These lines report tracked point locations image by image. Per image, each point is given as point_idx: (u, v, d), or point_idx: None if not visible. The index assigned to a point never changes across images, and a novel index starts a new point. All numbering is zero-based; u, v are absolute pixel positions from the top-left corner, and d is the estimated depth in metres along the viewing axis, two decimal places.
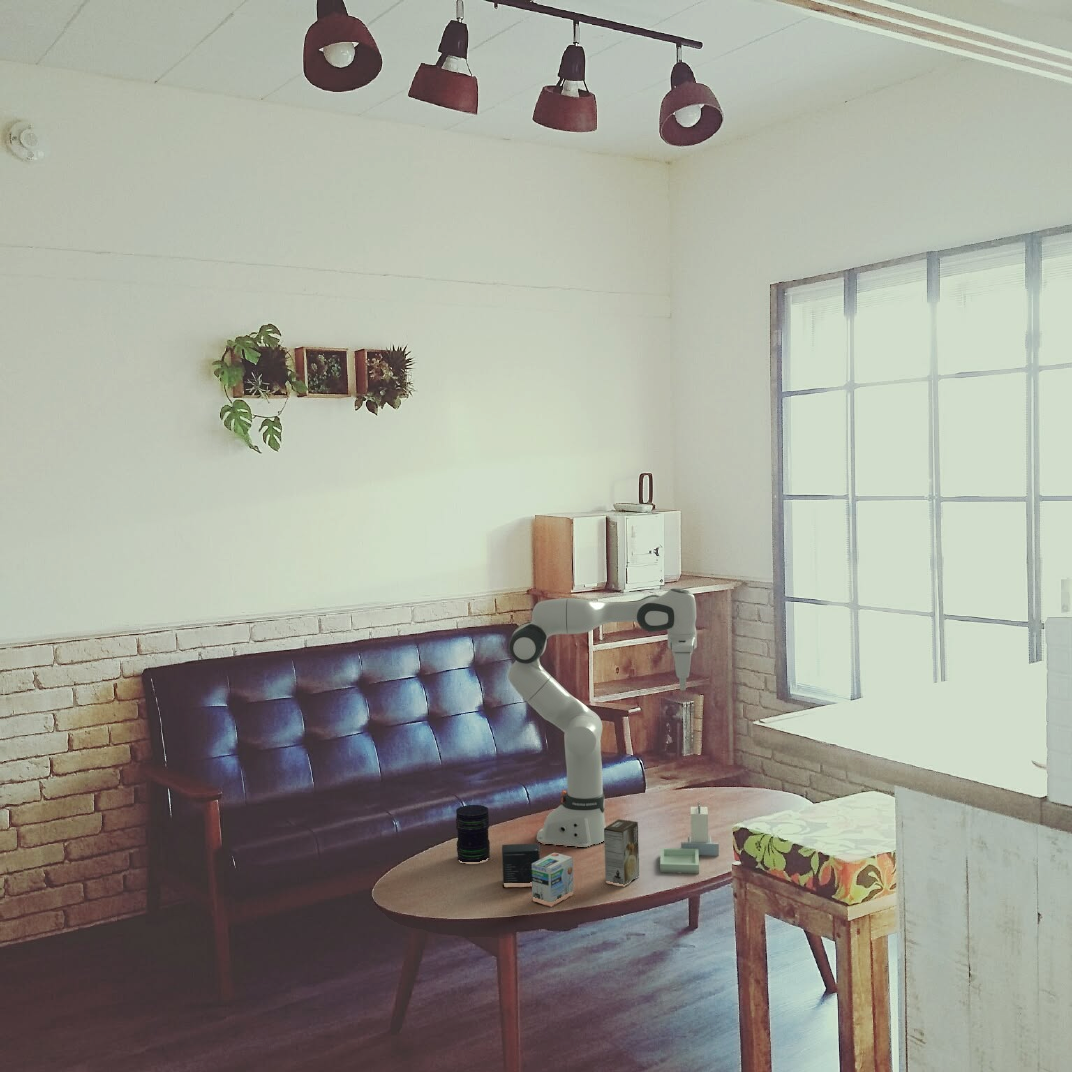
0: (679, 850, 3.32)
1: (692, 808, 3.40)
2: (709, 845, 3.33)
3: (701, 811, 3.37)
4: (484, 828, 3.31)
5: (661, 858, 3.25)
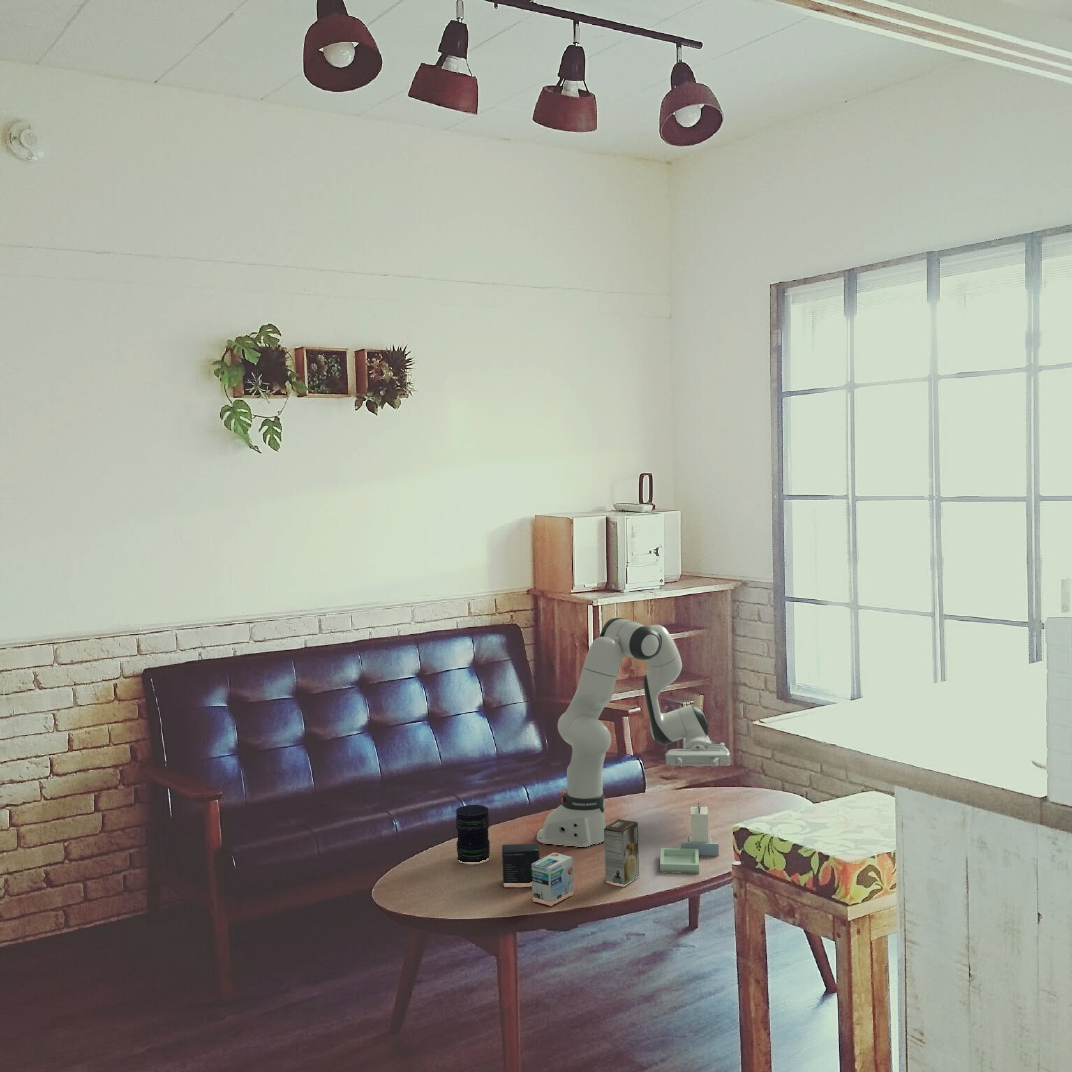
0: (679, 850, 3.32)
1: (692, 808, 3.40)
2: (709, 845, 3.33)
3: (701, 811, 3.37)
4: (484, 828, 3.31)
5: (661, 858, 3.25)
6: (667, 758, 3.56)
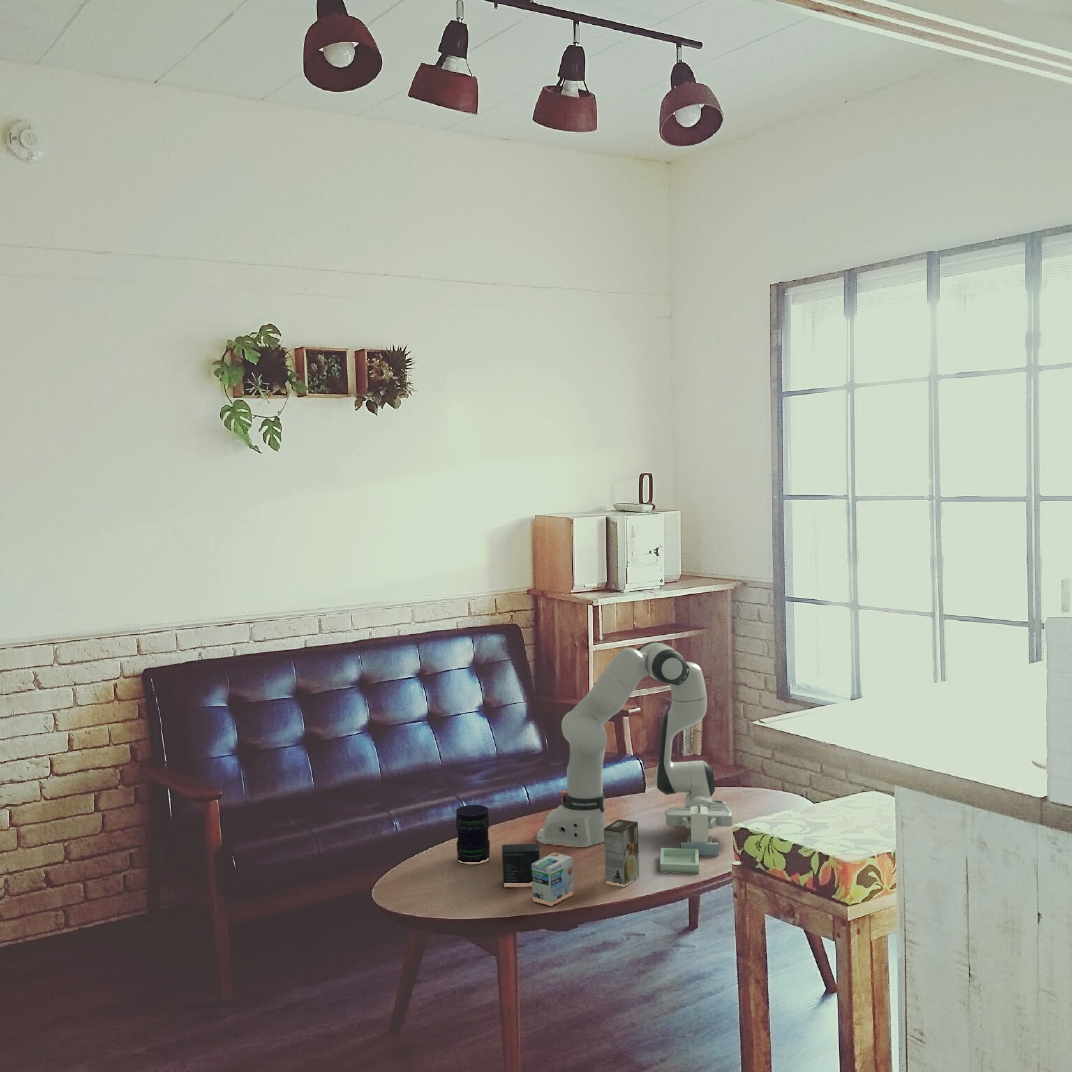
0: (679, 850, 3.32)
1: (692, 808, 3.40)
2: (709, 845, 3.33)
3: (701, 811, 3.37)
4: (484, 828, 3.31)
5: (661, 858, 3.25)
6: (667, 818, 3.43)
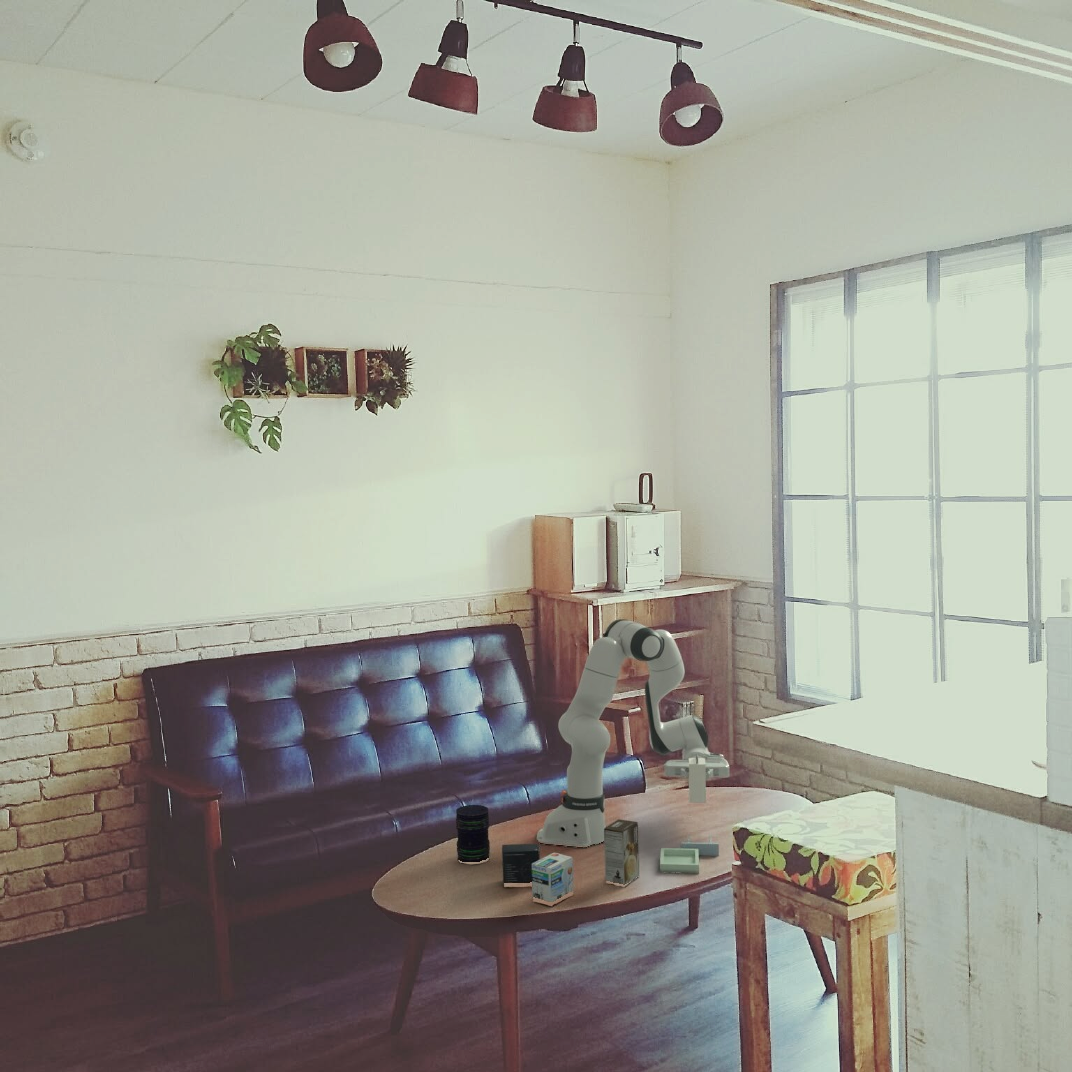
0: (679, 850, 3.32)
1: (690, 759, 3.49)
2: (709, 845, 3.33)
3: (699, 761, 3.46)
4: (484, 828, 3.31)
5: (661, 858, 3.25)
6: (666, 769, 3.52)
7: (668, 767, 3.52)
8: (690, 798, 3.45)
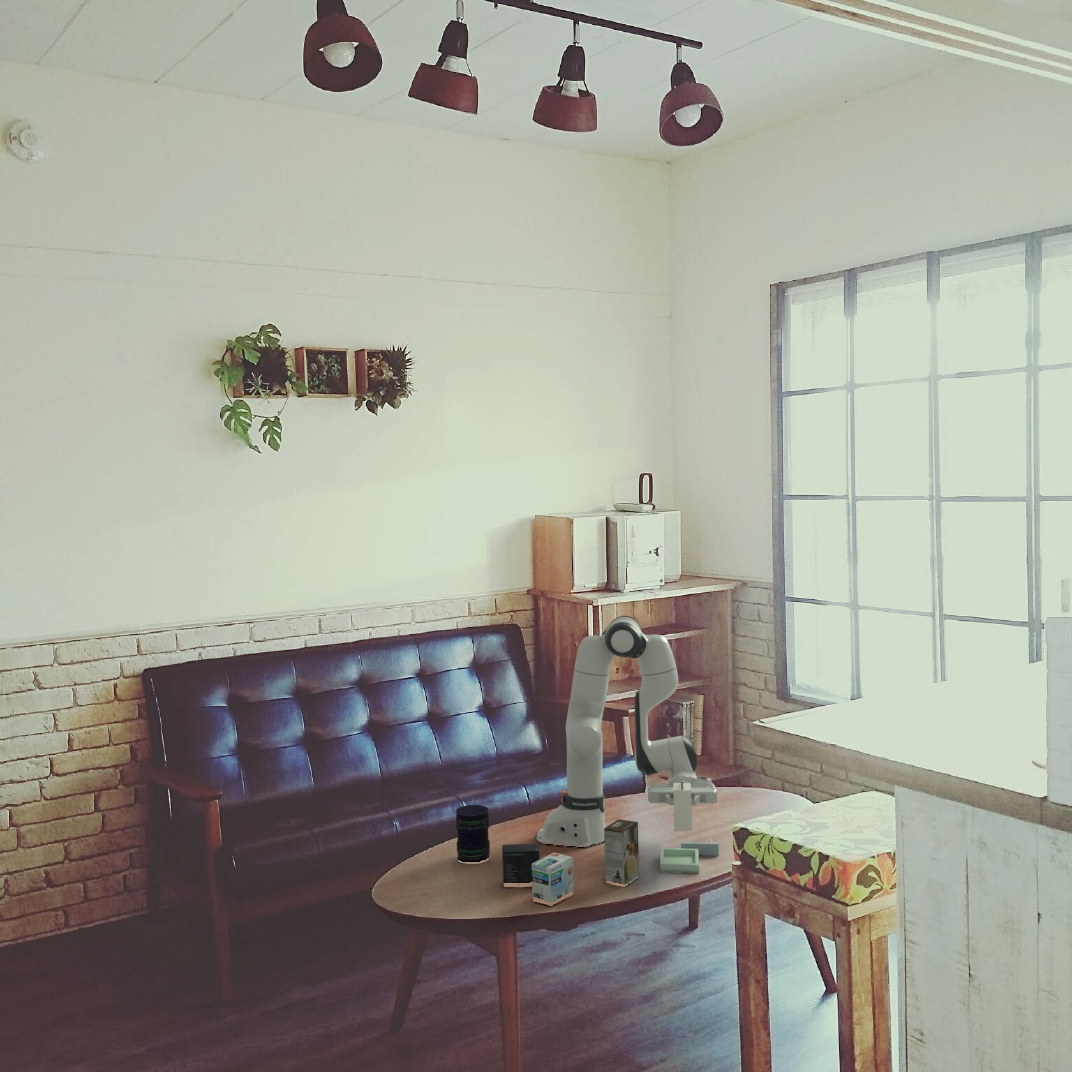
0: (679, 850, 3.32)
1: (675, 784, 3.27)
2: (709, 845, 3.33)
3: (684, 787, 3.24)
4: (484, 828, 3.31)
5: (661, 858, 3.25)
6: (649, 795, 3.30)
7: (652, 793, 3.30)
8: (675, 826, 3.22)
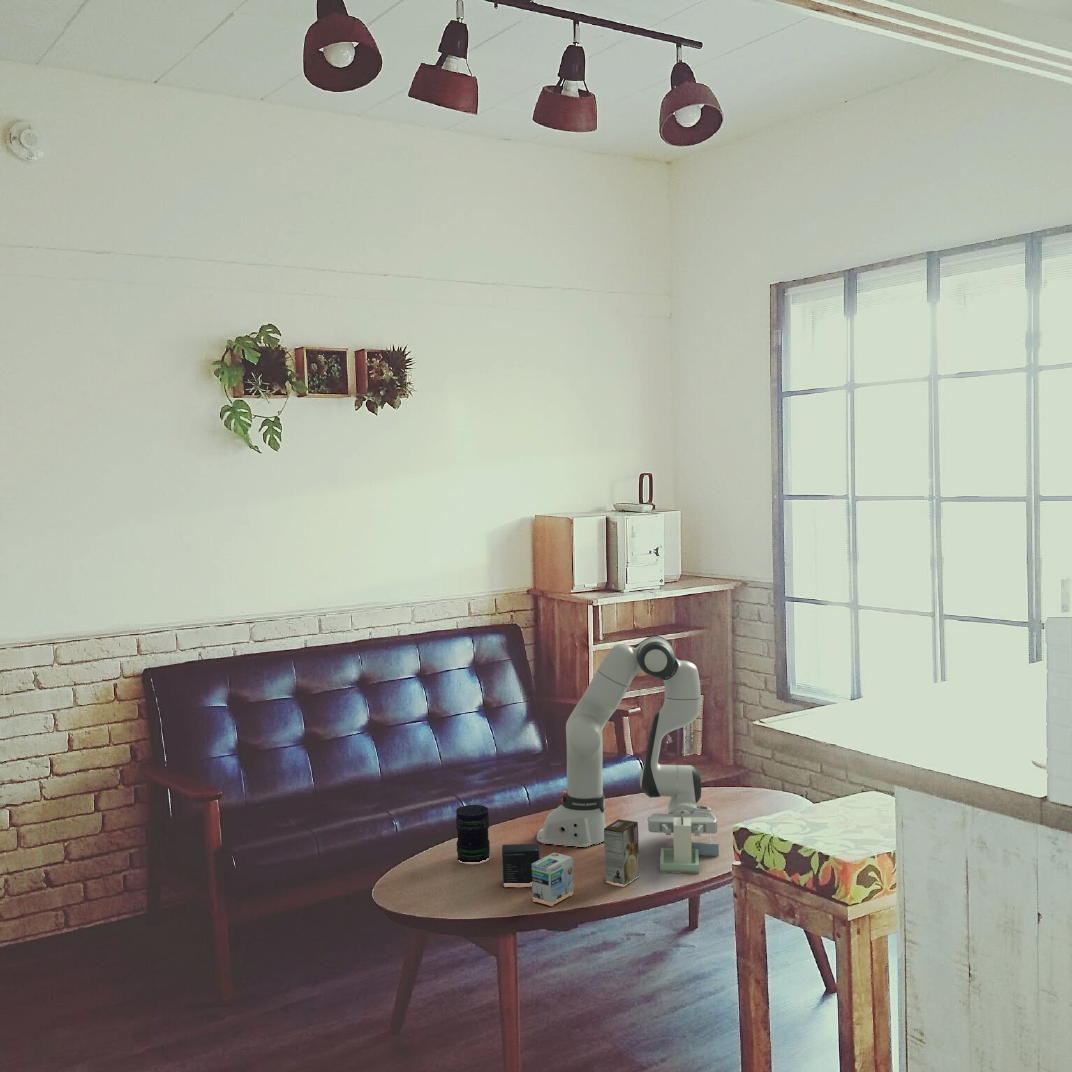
0: None
1: (675, 819, 3.28)
2: (709, 845, 3.33)
3: (684, 822, 3.25)
4: (484, 828, 3.31)
5: (661, 858, 3.25)
6: (649, 824, 3.31)
7: (652, 822, 3.31)
8: (675, 861, 3.23)
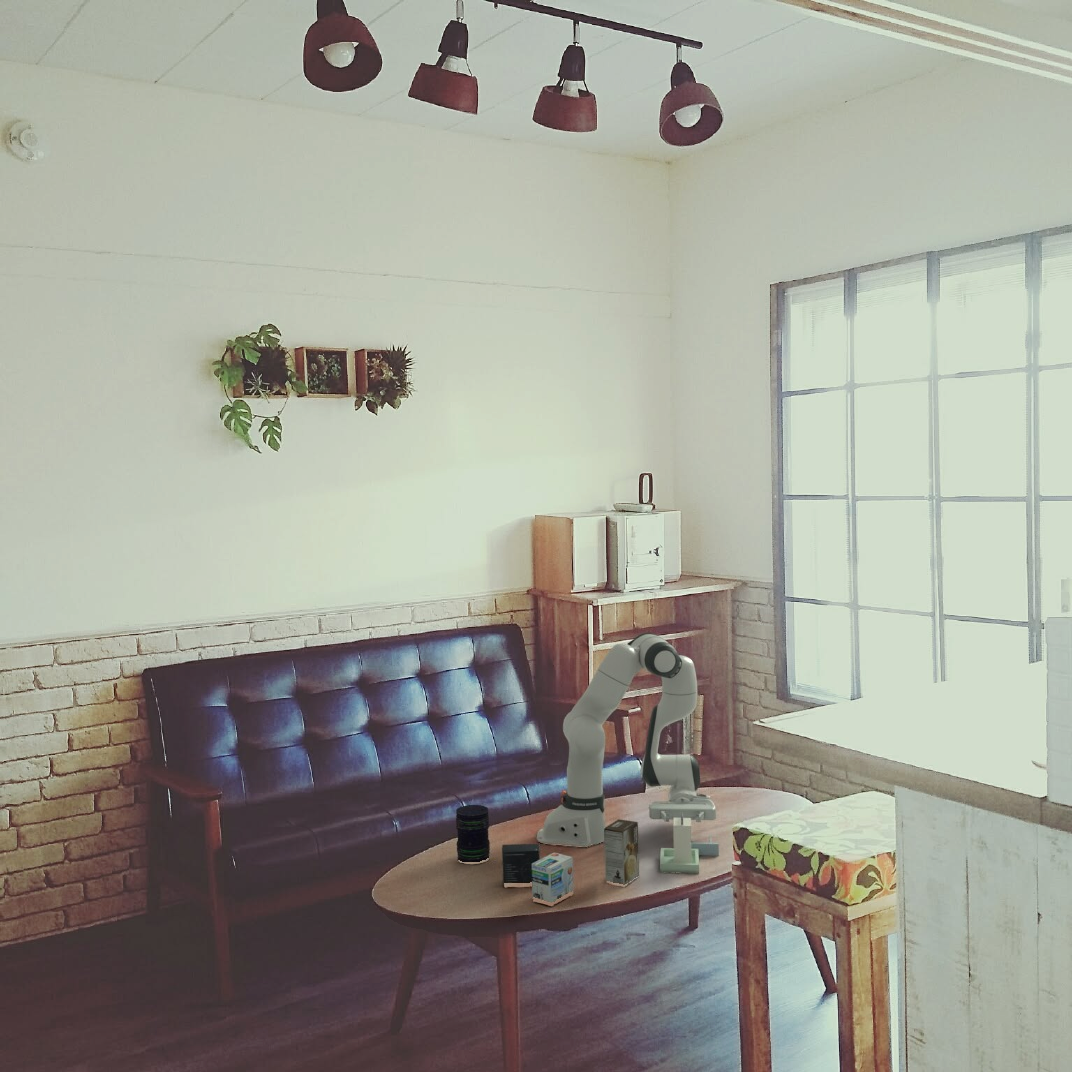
0: None
1: (675, 819, 3.28)
2: (709, 845, 3.33)
3: (684, 822, 3.25)
4: (484, 828, 3.31)
5: (661, 858, 3.25)
6: (650, 811, 3.43)
7: (653, 809, 3.42)
8: (675, 861, 3.23)
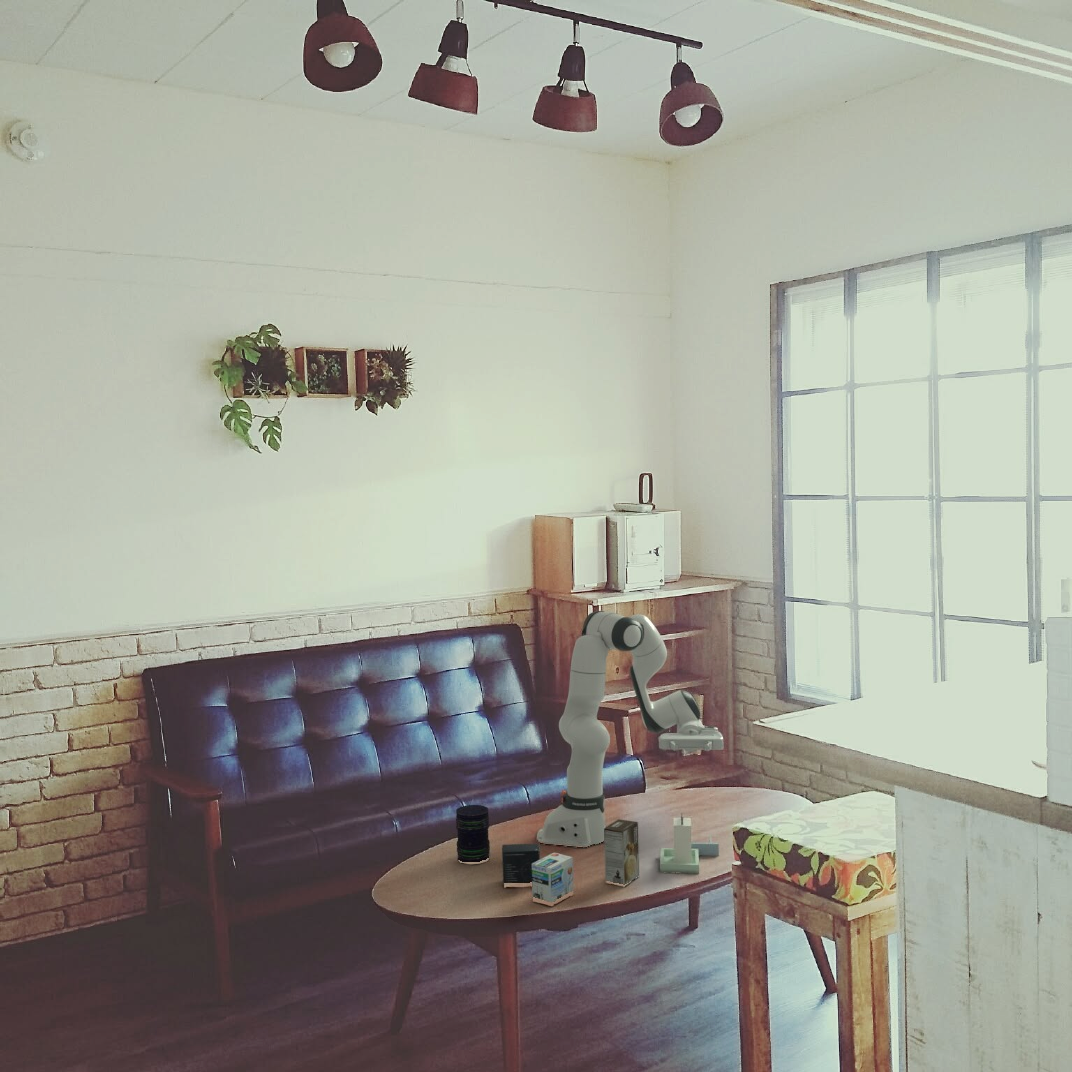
0: None
1: (675, 819, 3.28)
2: (709, 845, 3.33)
3: (684, 822, 3.25)
4: (484, 828, 3.31)
5: (661, 858, 3.25)
6: (660, 742, 3.54)
7: (662, 740, 3.54)
8: (675, 861, 3.23)
